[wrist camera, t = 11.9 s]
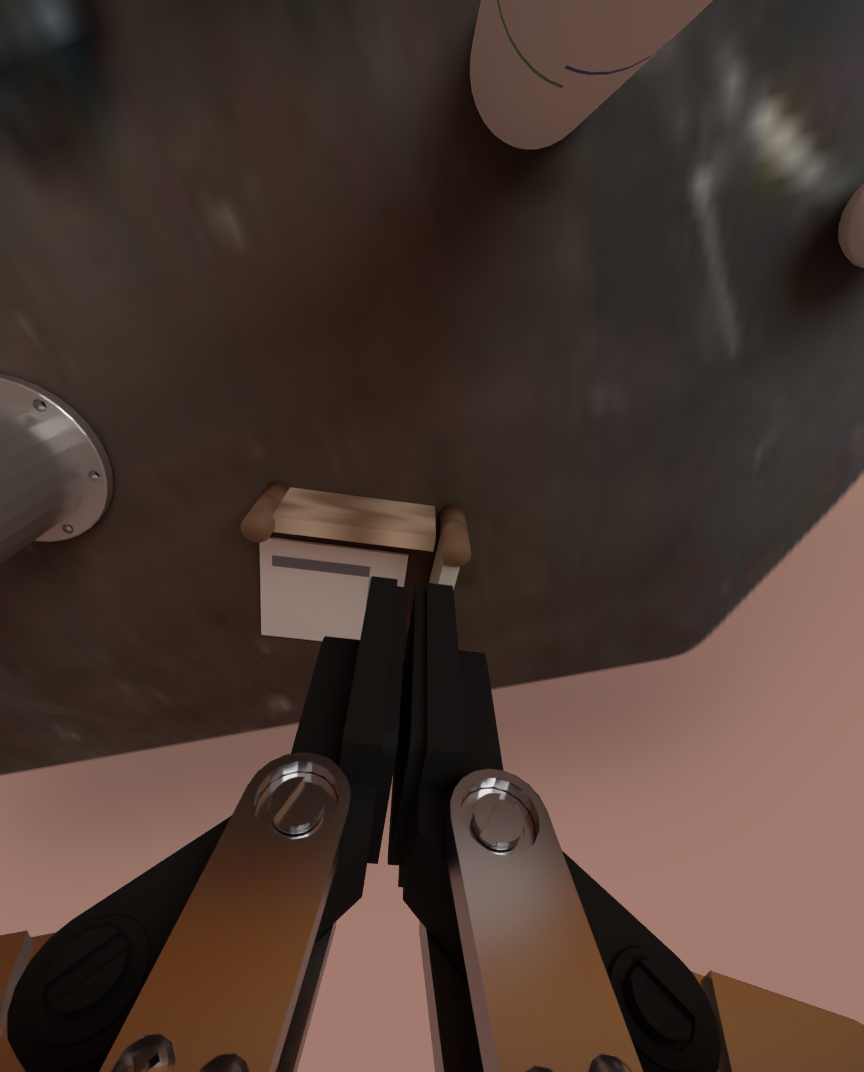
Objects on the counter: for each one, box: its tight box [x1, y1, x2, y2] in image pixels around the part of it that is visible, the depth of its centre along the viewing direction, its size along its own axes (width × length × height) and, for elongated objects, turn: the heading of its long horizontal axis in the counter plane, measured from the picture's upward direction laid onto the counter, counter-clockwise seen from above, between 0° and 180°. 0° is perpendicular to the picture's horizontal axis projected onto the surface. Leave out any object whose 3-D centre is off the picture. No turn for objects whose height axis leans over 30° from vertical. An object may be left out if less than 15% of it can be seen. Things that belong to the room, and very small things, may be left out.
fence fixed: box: [241, 481, 471, 567], centre depth 36 cm, size 16×2×6 cm, turn 82°
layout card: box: [260, 537, 408, 641], centre depth 43 cm, size 12×10×1 cm
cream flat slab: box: [429, 535, 459, 590], centre depth 40 cm, size 12×2×5 cm, turn 168°
